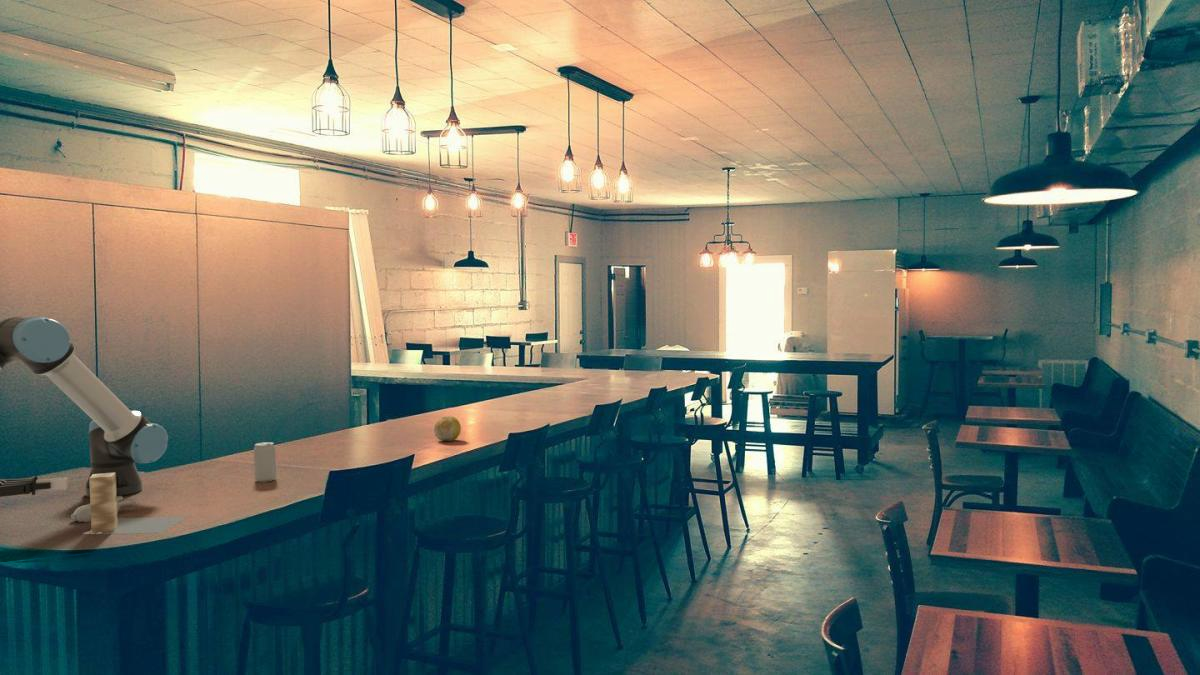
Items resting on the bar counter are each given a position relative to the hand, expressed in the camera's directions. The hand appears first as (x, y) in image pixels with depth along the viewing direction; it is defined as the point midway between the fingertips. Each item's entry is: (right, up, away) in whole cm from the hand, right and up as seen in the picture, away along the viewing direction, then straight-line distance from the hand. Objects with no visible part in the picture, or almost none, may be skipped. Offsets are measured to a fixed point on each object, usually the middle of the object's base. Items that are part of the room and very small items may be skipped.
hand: (67, 483), depth 211 cm
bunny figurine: (-1, -12, +17) cm, 21 cm away
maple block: (+8, -12, +3) cm, 15 cm away
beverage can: (+26, -10, +60) cm, 66 cm away
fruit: (+72, -5, +128) cm, 147 cm away
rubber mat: (+13, -13, +7) cm, 20 cm away
